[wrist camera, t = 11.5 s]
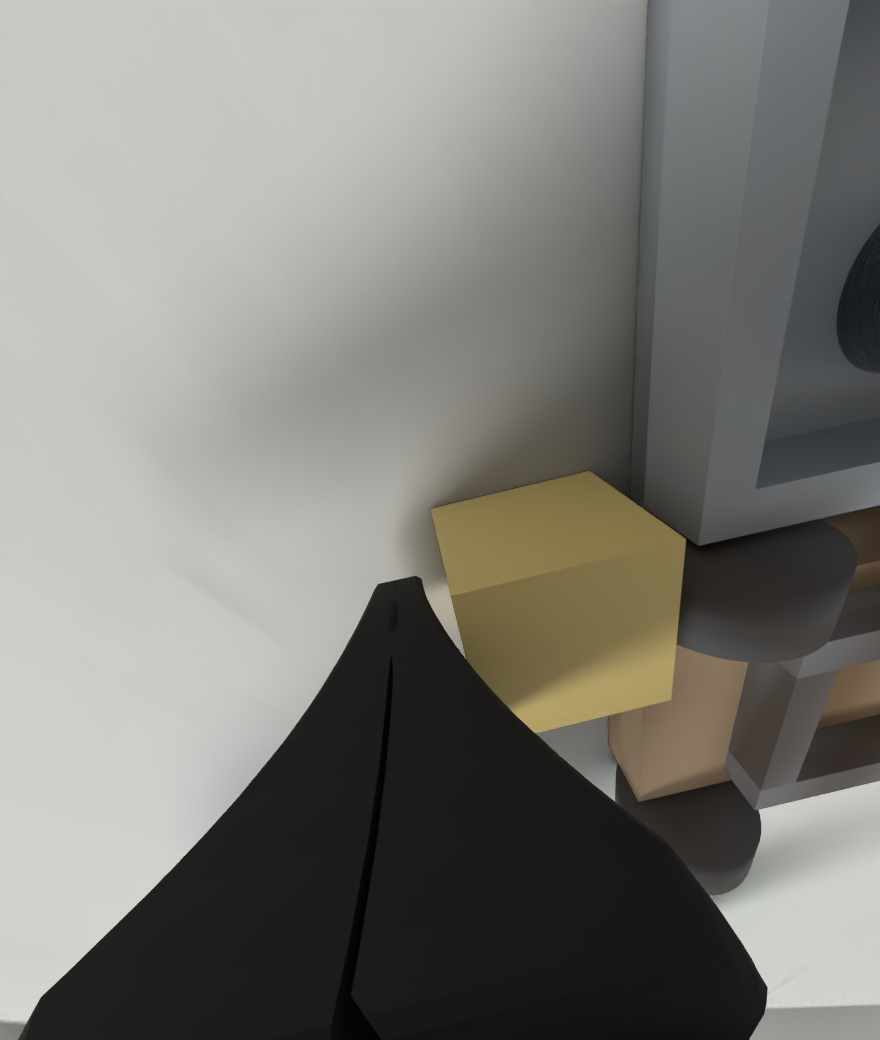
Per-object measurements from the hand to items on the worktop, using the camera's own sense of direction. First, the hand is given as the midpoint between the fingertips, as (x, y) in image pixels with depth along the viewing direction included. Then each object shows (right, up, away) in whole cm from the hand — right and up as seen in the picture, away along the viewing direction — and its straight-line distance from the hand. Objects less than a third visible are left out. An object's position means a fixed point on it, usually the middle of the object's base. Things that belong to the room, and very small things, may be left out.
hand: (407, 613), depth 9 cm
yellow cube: (+3, +1, +1) cm, 3 cm away
